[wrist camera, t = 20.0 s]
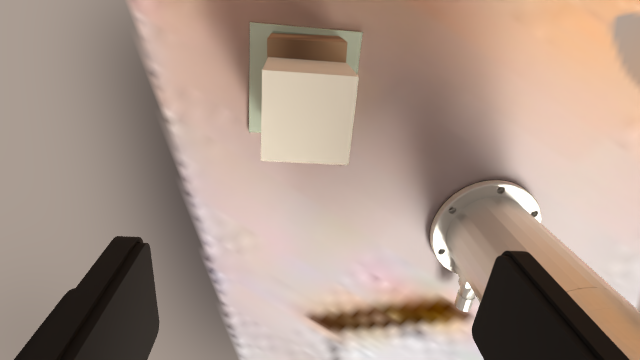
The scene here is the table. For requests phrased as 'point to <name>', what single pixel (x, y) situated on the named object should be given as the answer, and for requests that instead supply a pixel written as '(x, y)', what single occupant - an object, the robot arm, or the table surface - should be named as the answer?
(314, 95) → the cream brick
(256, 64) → the mat
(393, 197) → the table surface
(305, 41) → the walnut brick
